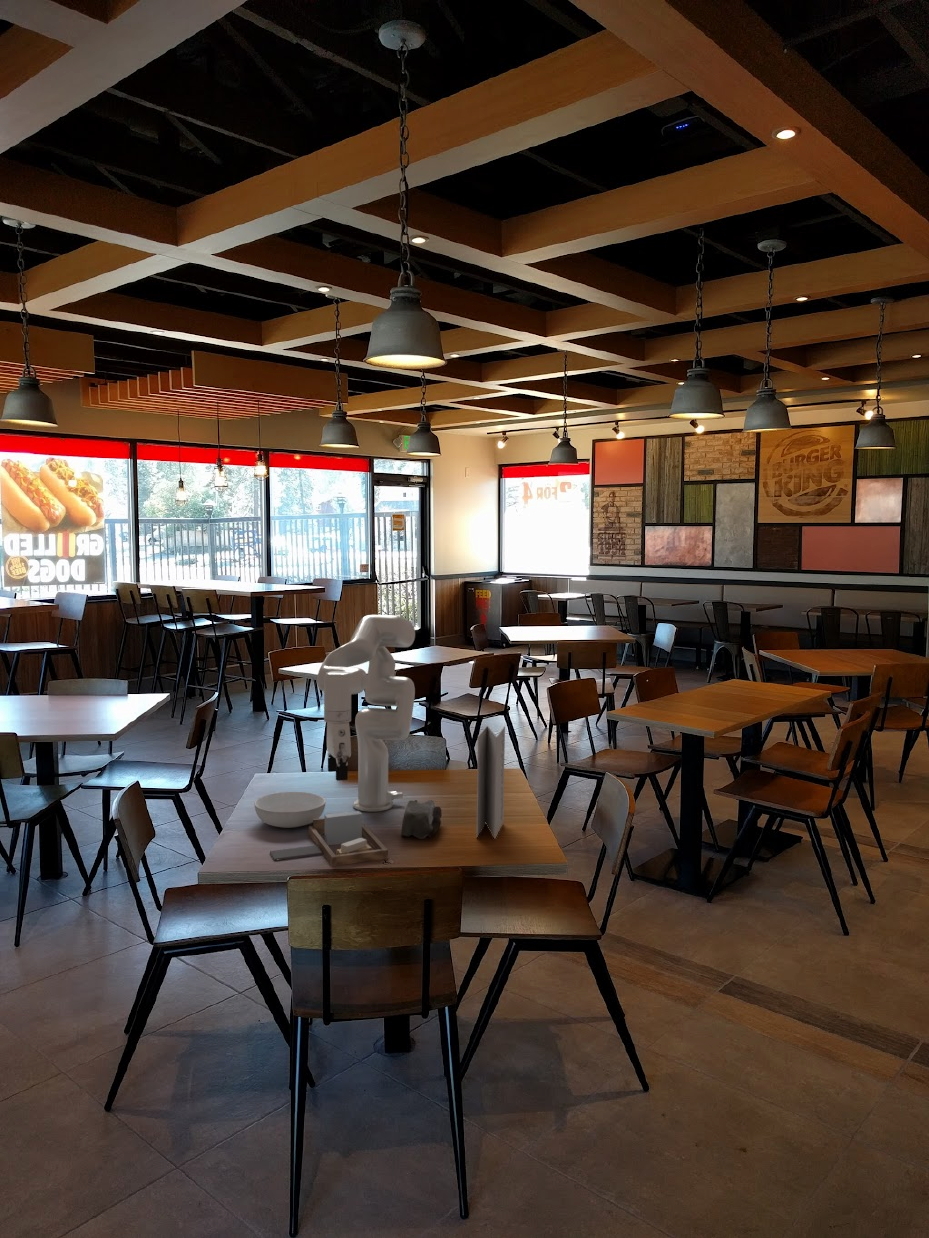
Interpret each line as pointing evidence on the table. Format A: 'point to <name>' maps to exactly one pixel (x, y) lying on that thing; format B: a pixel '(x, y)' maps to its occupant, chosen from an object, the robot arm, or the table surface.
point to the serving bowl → (289, 808)
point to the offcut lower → (355, 850)
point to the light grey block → (343, 827)
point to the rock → (421, 819)
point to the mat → (296, 852)
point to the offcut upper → (353, 845)
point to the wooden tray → (349, 858)
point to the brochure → (490, 780)
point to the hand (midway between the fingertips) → (337, 775)
